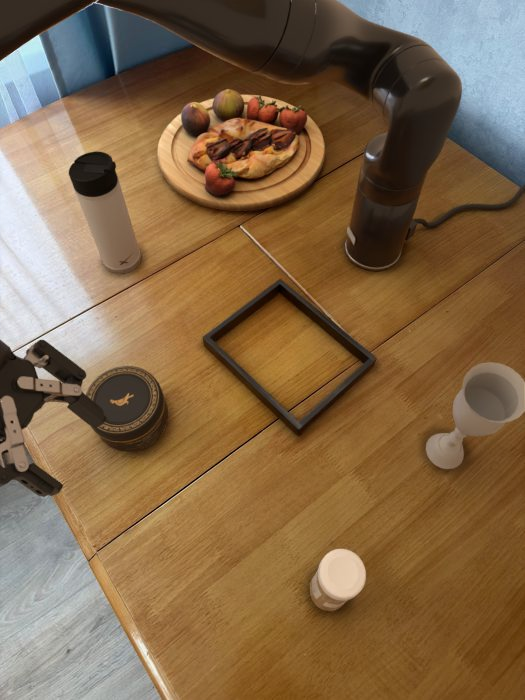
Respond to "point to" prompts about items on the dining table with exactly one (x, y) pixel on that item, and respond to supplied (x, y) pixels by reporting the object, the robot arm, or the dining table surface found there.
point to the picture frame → (316, 317)
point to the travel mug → (105, 211)
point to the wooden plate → (241, 152)
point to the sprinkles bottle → (337, 579)
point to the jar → (129, 408)
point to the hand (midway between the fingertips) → (80, 455)
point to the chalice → (479, 410)
